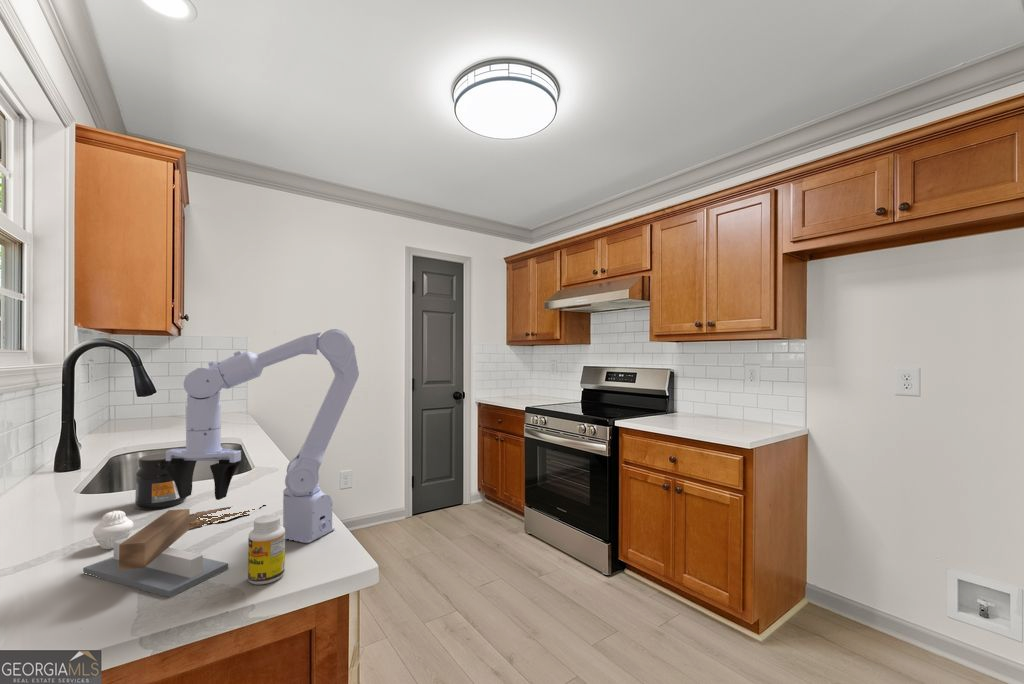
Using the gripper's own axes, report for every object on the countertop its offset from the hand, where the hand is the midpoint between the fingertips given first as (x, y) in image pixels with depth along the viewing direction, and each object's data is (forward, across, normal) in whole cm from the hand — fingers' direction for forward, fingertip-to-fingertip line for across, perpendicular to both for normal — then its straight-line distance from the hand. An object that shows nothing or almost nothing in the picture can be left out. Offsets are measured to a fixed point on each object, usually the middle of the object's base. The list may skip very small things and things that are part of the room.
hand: (203, 497), depth 91 cm
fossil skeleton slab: (+10, +10, -15) cm, 21 cm away
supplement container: (+10, +30, -22) cm, 38 cm away
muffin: (+10, +18, +1) cm, 21 cm away
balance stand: (+10, +1, +10) cm, 14 cm away
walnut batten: (+6, +1, +10) cm, 11 cm away
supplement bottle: (+10, -20, +10) cm, 24 cm away
